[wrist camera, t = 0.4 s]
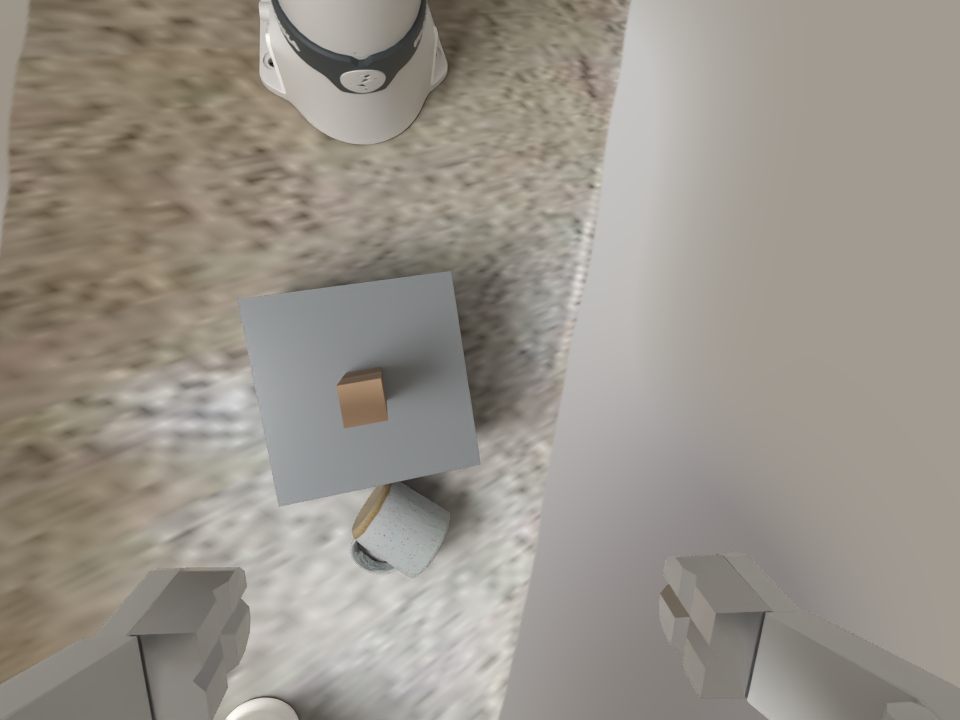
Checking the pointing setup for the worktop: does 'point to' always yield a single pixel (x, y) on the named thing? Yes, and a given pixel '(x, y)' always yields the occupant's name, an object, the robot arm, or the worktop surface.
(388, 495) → the ceramic mug
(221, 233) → the worktop surface
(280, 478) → the lid
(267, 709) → the jar
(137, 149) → the worktop surface
